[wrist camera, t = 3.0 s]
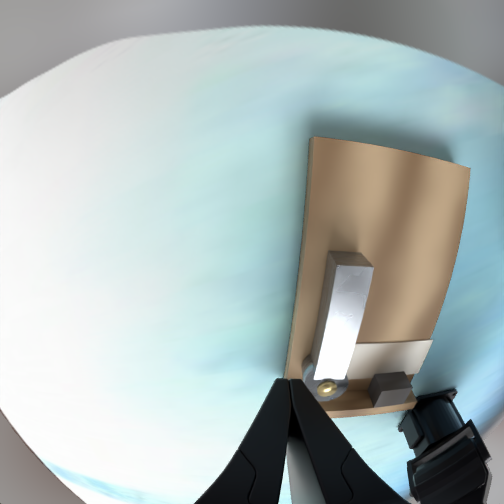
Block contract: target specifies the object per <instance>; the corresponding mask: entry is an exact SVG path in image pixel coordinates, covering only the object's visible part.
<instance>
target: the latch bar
mask: <svg viewBox="0 0 504 504" xmlns="http://www.w3.org/2000/svg"><path fill="white" fill-rule="evenodd" d="M373 270H374V267H373V265H372V264H371V263H370V262H369V261H368V260H367V259H366V258H365V256H364V255H363V254H362V253H360V252H345V251H330V250H328V255H327V262H326V269H325V276H324V282H323V288H322V295H321V301H320V306H319V312H318V318H317V323H316V328H315V334H314V339H313V344H312V349H311V353H310V354H309V355H308V356H307V357H306V358H305V359H304V360H303V362H302V366H301V368H302V376H303V382H304V383H305V385H306V386H307V387H308V389H309V390H310V391H311V393H312V394H313V395H314V397H315V398H316V399H317V401H321V402H322V401H329V400H333V399H335V398H337V397H339V396H341V395H342V394H343V393H344V392H345V391H346V389H347V388H348V385H349V381H348V377H347V374H346V372H347V369H348V366H349V363H350V360H351V356H352V353H353V350H354V346H355V343H356V340H357V336H358V332H359V329H360V325H361V321H362V318H363V314H364V310H365V306H366V302H367V297H368V293H369V289H370V284H371V280H372V275H373Z"/></svg>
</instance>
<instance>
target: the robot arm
mask: <svg viewBox="0 0 504 504" xmlns="http://www.w3.org/2000/svg"><path fill="white" fill-rule="evenodd" d="M456 394H457V390H456V389H454V390H450V391H445V392H441V393H436V394H431V395H426V396H420V397H418V398H417V399H416V400H417V403H416V405H415V406H414V408H413V409H410V410H409V412H408V413H407V415H406V417H405V418H404V420H403V421H402V423H401V425H400V426H399V428H398V431H399V432H404V434H405V437H406V440H407V442H408V445H409V448H410V449H413V450H414V453H415V456H416V458H414V459H412V460H409V461H408V462H407V473H408V479H409V486H410V496H411V497H414V498H415V500H416V501H417V502H418V503H419V504H487V503H486V501H487V497H488V493H489V489H490V485H491V480H492V474H491V472H490V469H489V467H488V465H487V462H489V461H490V460H492V458H491V456H490V454H489V452H488V450H487V447H486V446H485V443H484V441H483V440H482V438H481V436H480V434H479V432H478V430H477V428H476V427H475V425H474V423H473V422H472V420H471V419H470V420H469V421H468V422H467V423H466V424H465V423H464V421H463V419H462V417H461V416H460V414H459V412H458V410H457V408H456V407H455V405H454V403H453V399H454V398H455V396H456ZM473 436H475V437H474V438H472V437H473ZM286 456H287V465H288V473H289V482H290V491H291V500H292V504H411V503H409V502H408V501H406V500H405V499H403V498H402V497H401V496H400V495H399V494H398V493H396V492H395V491H394V490H393V489H392V488H391V487H390V486H389V485H388V484H386V483H385V482H384V481H383V480H382V479H381V478H380V477H379V476H378V475H377V474H376V473H375V472H374V471H373V470H372V469H371V468H370V467H369V466H368V465H367V464H366V463H365V462H364V460H363V459H362V458H361V457H360V456H359V454H358V453H357V452H356V451H355V449H354V448H352V446H351V444H350V443H349V442H348V440H347V439H346V438H345V436H344V435H343V434H342V433H341V431H340V430H339V429H338V427H337V426H336V425H335V423H334V422H333V421H332V419H331V418H330V417H329V416H328V414H327V413H326V412H325V410H324V409H323V408H322V406H321V405H320V404H319V402H318V401H317V399H316V398H315V397H314V395H313V394H312V393H311V391H310V390H309V389H308V387H307V386H306V385H305V383H304V382H303V380H302V379H289V380H288V379H287V378H276V379H275V381H274V383H273V385H272V387H271V389H270V391H269V393H268V395H267V397H266V399H265V401H264V402H263V404H262V406H261V408H260V410H259V412H258V414H257V415H256V417H255V419H254V421H253V423H252V425H251V426H250V428H249V430H248V432H247V433H246V435H245V437H244V439H243V440H242V442H241V444H240V446H239V447H238V450H236V452H235V454H234V455H233V457H232V459H231V460H230V462H229V463H228V465H227V466H226V468H225V469H224V471H223V472H222V473H221V474H220V475H219V477H218V478H217V479H216V480H215V482H214V483H213V484H212V485H211V486H210V487H209V488H208V489H207V490H206V491H205V492H204V494H203V495H202V496H201V497H200V498H199V499H198V500H197V501H196V502H195V503H194V504H278V502H279V496H280V490H281V484H282V478H283V471H284V464H285V457H286ZM0 504H1V503H0Z"/></svg>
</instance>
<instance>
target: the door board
mask: <svg viewBox="0 0 504 504" xmlns="http://www.w3.org/2000/svg"><path fill="white" fill-rule="evenodd" d="M469 179H470V168H468V167H465V166H462V165H458V164H455V163H451V162H448V161H444V160H441V159H437V158H433V157H429V156H425V155H421V154H416V153H412V152H408V151H403V150H398V149H393V148H388V147H383V146H378V145H372V144H366V143H360V142H354V141H347V140H340V139H332V138H324V137H315V136H314V137H312V138H310V139H309V154H308V170H307V184H306V197H305V209H304V221H303V231H302V242H301V251H300V261H299V270H298V278H297V287H296V295H295V303H294V311H293V318H292V325H291V333H290V340H289V346H288V353H287V360H286V366H285V372H284V378H287V379H288V380H289V379H302V380H303V376H302V368H301V366H302V362H303V360H304V359H305V358H306V357H307V356H308V355H309V354H310V353H311V349H312V344H313V339H314V334H315V328H316V323H317V318H318V312H319V306H320V301H321V295H322V288H323V282H324V276H325V269H326V262H327V255H328V250H330V251H345V252H360V253H362V254H363V255H364V256H365V258H366V259H367V260H368V261H369V262H370V263H371V264H372V265H373V267H374V270H373V275H372V280H371V284H370V289H369V293H368V297H367V302H366V306H365V310H364V314H363V318H362V321H361V325H360V329H359V332H358V336H357V340H356V343H355V346H354V350H353V353H352V356H351V360H350V363H349V366H348V369H347V372H346V374H347V377H348V381H349V385H348V388H347V389H346V391H345V392H344V393H343V394H342V395H341V396H339V397H337V398H335V399H333V400H329V401H322V402H321V401H318V402H319V404H320V405H321V406H322V408H323V409H324V410H325V412H326V413H327V414H328V416H329V417H330V418H343V417H355V416H366V415H375V414H383V413H390V412H396V411H403V410H408V409H413V408H414V406H415V405H416V403H417V400H416V398H415V396H414V394H413V392H412V390H411V389H412V388H413V387H412V385H411V383H410V382H411V380H412V378H413V376H414V374H417V373H419V371H420V368H421V366H422V364H423V362H424V360H425V358H426V355H427V353H428V351H429V348H430V346H431V344H432V341H433V339H430V338H431V335H432V333H433V330H434V328H435V325H436V322H437V320H438V317H439V314H440V311H441V308H442V305H443V302H444V299H445V296H446V293H447V289H448V286H449V283H450V279H451V276H452V272H453V268H454V264H455V260H456V256H457V252H458V248H459V243H460V238H461V233H462V228H463V223H464V217H465V211H466V204H467V197H468V189H469Z"/></svg>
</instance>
